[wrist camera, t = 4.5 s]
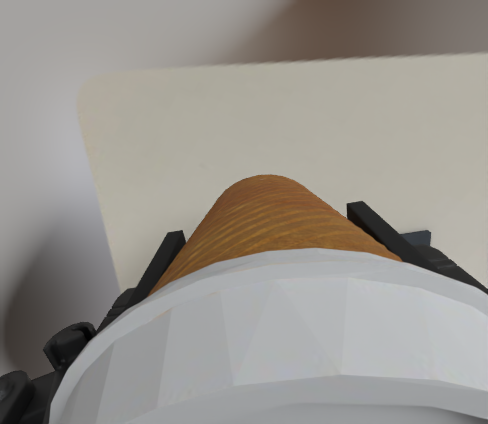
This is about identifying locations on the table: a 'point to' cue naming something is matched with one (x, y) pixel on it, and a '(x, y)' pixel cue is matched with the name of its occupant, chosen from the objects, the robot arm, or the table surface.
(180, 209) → the table surface
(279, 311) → the disposable coffee cup
